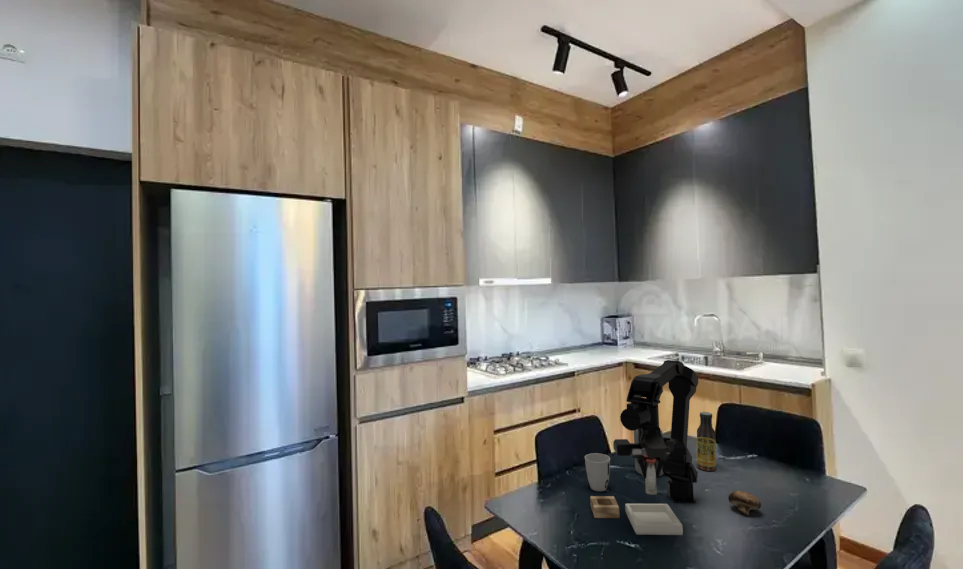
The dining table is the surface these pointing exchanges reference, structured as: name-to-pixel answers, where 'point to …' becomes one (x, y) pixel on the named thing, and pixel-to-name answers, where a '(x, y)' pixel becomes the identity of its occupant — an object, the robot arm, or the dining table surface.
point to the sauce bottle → (706, 443)
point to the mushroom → (744, 501)
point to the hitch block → (604, 507)
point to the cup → (598, 470)
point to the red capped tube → (650, 474)
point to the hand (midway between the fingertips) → (650, 477)
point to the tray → (653, 519)
